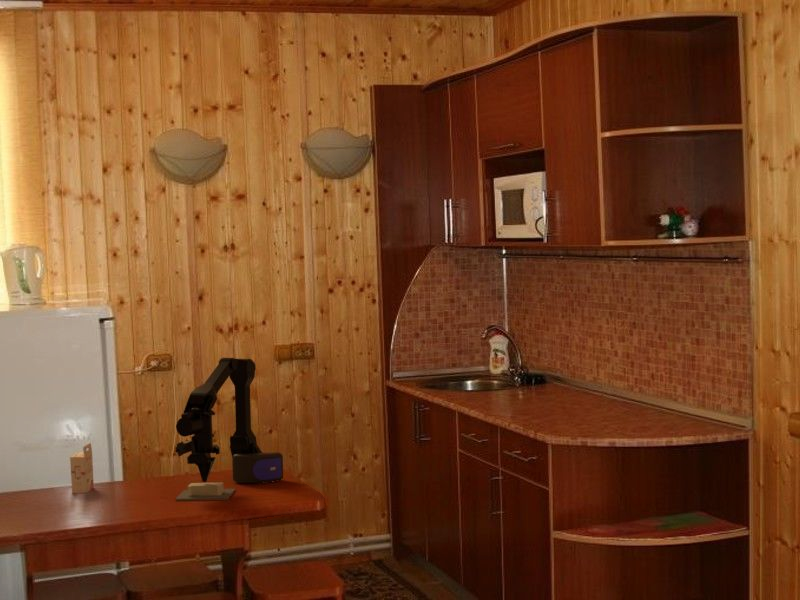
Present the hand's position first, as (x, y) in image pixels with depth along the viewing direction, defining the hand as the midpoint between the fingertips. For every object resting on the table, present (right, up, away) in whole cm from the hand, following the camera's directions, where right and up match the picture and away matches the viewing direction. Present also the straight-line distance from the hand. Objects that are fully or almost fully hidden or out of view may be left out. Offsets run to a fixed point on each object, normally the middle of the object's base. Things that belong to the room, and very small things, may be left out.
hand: (204, 481), depth 366 cm
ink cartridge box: (-41, -5, +13) cm, 43 cm away
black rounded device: (+14, -3, +19) cm, 24 cm away
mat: (0, -4, 0) cm, 4 cm away
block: (+1, -2, +1) cm, 3 cm away
